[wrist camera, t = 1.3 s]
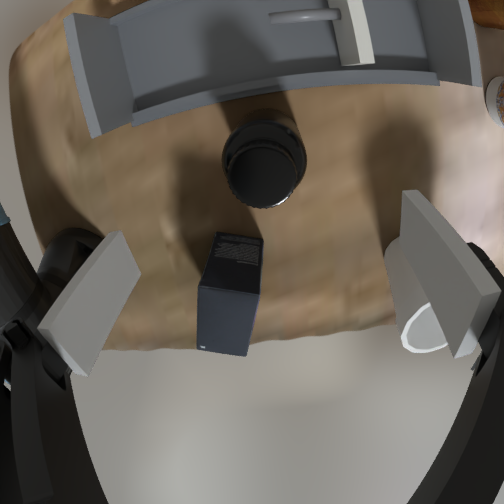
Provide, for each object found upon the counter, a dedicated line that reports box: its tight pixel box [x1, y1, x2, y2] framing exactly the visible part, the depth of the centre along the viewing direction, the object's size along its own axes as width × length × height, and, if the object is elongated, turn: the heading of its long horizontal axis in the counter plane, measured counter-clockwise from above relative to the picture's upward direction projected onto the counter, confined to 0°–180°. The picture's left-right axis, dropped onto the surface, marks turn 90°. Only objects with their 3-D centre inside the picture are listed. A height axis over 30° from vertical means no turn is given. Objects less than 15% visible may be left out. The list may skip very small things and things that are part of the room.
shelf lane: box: [63, 0, 482, 138], centre depth 18 cm, size 34×14×9 cm, turn 101°
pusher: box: [268, 0, 375, 66], centre depth 18 cm, size 7×10×7 cm
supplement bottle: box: [222, 109, 307, 209], centre depth 24 cm, size 7×7×12 cm
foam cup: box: [384, 236, 448, 353], centre depth 30 cm, size 10×9×13 cm
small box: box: [197, 232, 264, 357], centre depth 35 cm, size 11×6×10 cm, turn 172°
